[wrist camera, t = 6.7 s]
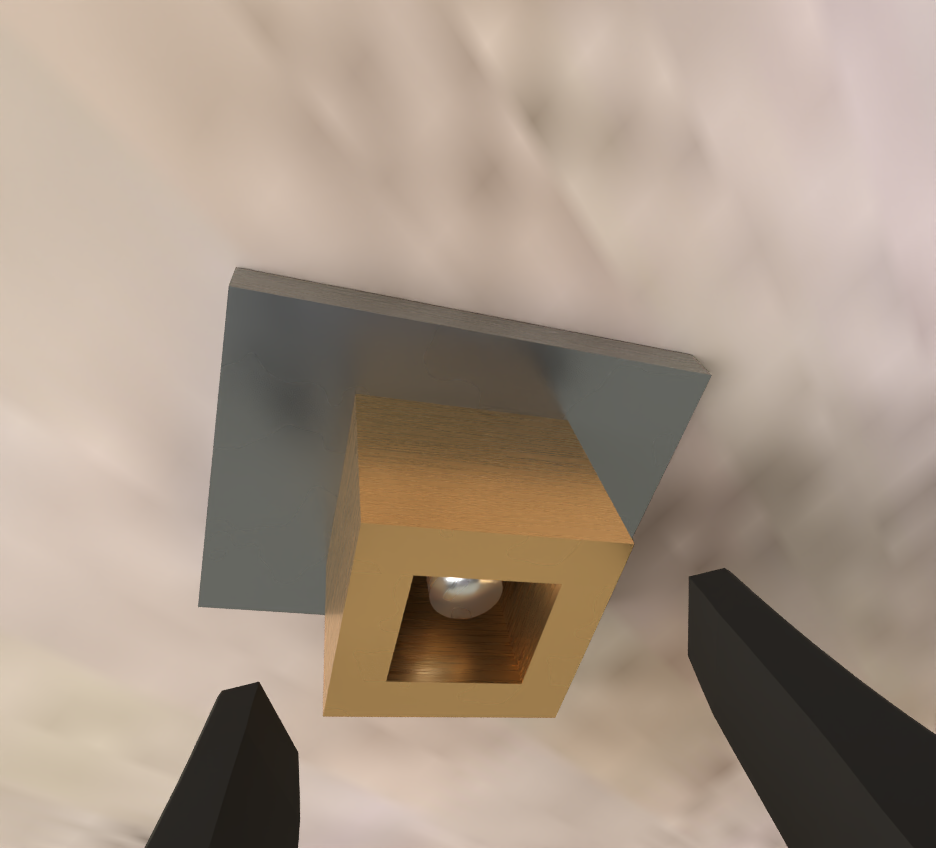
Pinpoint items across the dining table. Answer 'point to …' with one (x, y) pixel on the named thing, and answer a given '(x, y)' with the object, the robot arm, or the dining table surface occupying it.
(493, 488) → the wooden block with hole
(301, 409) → the flat gray rectangular block
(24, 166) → the dining table surface
